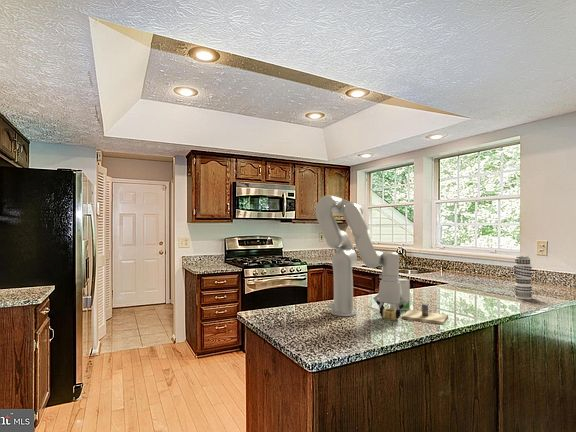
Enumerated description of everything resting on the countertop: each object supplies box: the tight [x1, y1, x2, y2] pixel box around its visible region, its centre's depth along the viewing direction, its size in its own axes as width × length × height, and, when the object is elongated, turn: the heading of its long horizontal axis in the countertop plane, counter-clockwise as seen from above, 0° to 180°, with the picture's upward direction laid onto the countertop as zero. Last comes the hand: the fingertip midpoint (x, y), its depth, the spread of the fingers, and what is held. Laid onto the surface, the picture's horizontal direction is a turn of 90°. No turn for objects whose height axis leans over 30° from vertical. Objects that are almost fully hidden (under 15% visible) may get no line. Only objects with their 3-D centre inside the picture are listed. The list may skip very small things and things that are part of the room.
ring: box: [381, 308, 397, 321], centre depth 162 cm, size 7×7×4 cm
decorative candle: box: [513, 255, 533, 300], centre depth 207 cm, size 9×9×25 cm
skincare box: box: [389, 278, 411, 311], centre depth 181 cm, size 8×7×16 cm
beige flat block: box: [401, 303, 449, 325], centre depth 163 cm, size 18×14×6 cm
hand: (389, 316), depth 162 cm, fingers closed on ring, 6 cm apart
